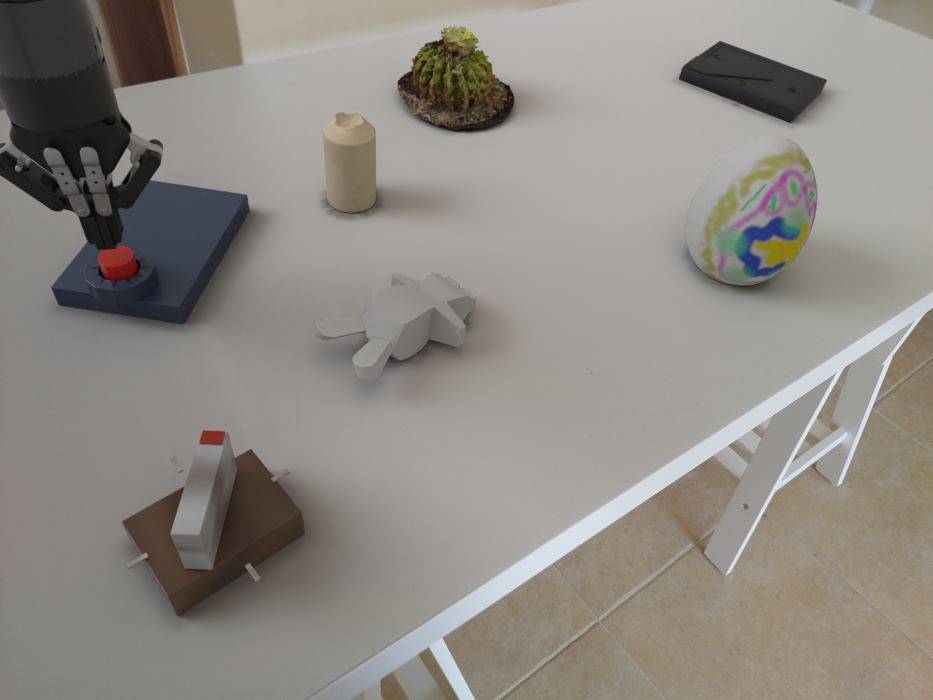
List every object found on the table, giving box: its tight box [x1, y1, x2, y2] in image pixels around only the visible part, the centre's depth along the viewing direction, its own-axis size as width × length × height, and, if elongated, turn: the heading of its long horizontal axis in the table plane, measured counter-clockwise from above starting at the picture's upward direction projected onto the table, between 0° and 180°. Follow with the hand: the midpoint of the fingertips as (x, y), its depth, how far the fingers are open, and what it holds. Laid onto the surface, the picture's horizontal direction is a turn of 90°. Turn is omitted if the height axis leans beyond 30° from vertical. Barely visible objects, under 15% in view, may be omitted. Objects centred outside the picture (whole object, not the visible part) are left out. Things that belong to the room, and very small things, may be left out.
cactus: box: [396, 25, 515, 131], centre depth 98 cm, size 17×16×10 cm
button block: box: [50, 179, 251, 325], centre depth 73 cm, size 19×12×4 cm, turn 172°
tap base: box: [121, 448, 306, 617], centre depth 52 cm, size 12×12×3 cm
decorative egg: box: [684, 134, 818, 287], centre depth 76 cm, size 12×12×15 cm
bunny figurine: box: [312, 272, 477, 381], centre depth 67 cm, size 10×5×15 cm
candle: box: [322, 112, 377, 214], centre depth 80 cm, size 6×6×10 cm
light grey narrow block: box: [170, 429, 237, 570], centre depth 50 cm, size 8×2×5 cm, turn 0°
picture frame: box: [678, 40, 828, 124], centre depth 111 cm, size 13×2×18 cm
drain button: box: [98, 246, 138, 281], centre depth 66 cm, size 3×3×2 cm
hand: (109, 243), depth 64 cm, fingers closed
